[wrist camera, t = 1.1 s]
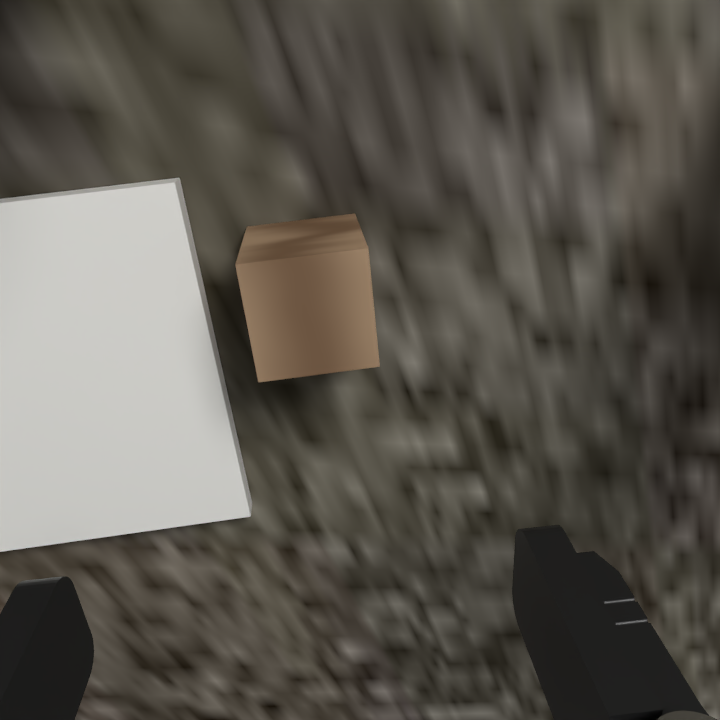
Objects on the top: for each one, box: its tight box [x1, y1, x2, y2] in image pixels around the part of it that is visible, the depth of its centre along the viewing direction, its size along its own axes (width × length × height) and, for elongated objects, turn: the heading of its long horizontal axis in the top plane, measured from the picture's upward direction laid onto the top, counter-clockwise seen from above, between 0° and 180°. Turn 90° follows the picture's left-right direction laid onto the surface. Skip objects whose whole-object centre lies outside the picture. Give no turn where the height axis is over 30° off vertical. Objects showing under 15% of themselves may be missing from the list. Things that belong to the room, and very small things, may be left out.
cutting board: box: [0, 178, 252, 552], centre depth 30 cm, size 18×18×1 cm
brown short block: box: [235, 214, 380, 382], centre depth 27 cm, size 5×5×6 cm
